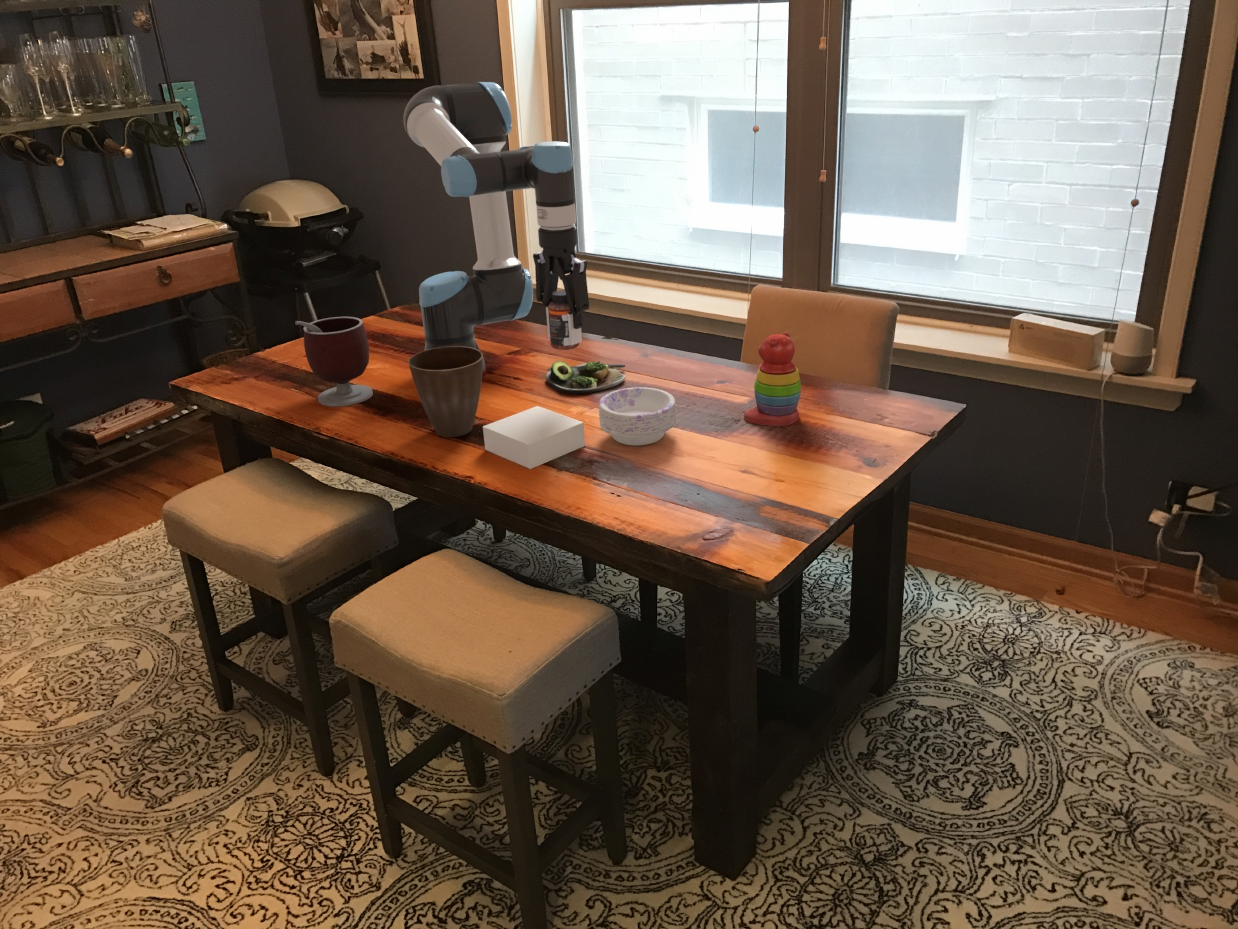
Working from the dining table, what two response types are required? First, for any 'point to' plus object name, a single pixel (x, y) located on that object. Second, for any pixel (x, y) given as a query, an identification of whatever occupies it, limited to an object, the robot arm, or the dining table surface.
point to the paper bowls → (637, 415)
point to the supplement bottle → (559, 321)
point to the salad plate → (583, 377)
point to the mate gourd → (338, 357)
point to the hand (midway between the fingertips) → (564, 339)
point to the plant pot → (448, 386)
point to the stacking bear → (776, 384)
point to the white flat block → (534, 436)
